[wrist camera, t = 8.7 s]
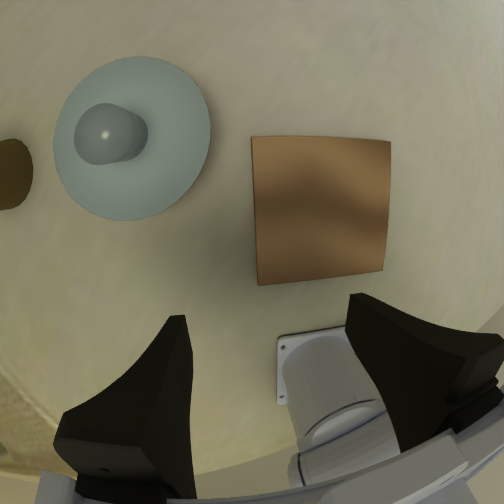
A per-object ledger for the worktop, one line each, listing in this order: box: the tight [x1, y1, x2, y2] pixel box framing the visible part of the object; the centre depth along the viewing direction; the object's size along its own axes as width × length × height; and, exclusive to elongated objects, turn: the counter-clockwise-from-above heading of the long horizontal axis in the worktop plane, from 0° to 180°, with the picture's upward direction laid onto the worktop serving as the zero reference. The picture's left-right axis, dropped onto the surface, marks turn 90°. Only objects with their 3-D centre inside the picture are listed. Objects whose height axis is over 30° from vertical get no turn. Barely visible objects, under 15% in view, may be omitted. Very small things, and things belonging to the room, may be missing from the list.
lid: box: [54, 57, 211, 221], centre depth 12 cm, size 10×10×4 cm
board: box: [251, 136, 391, 286], centre depth 21 cm, size 11×11×1 cm
